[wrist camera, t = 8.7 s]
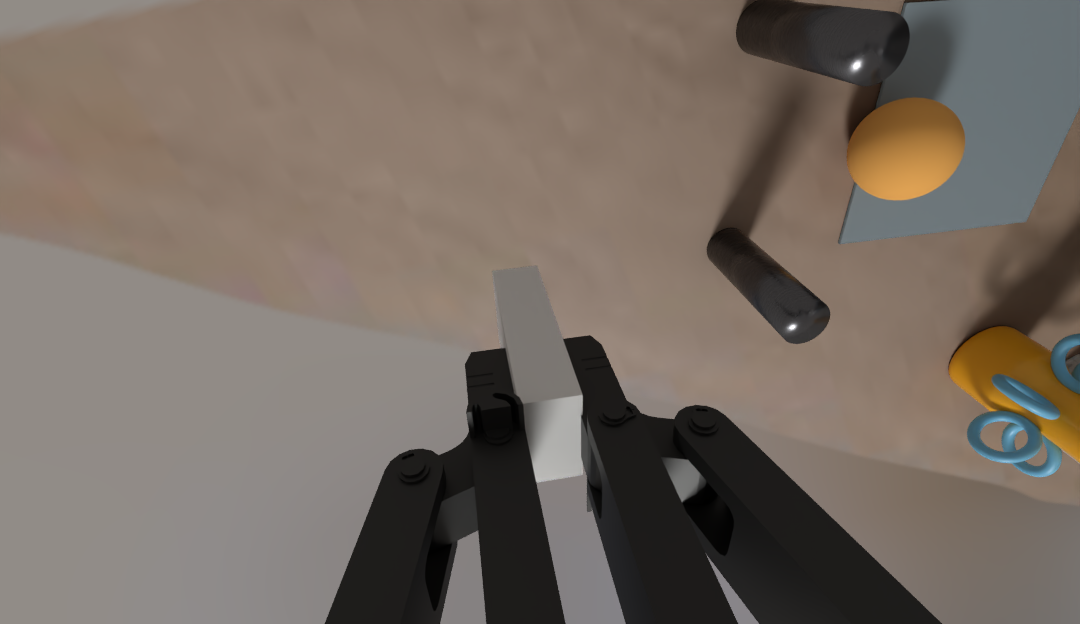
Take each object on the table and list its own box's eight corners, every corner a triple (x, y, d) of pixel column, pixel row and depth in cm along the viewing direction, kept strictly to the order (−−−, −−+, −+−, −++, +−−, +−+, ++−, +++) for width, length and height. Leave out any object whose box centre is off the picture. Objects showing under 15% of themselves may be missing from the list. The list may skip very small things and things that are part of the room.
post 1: (788, -3, 28) (919, 9, 21) (778, 53, 29) (897, 83, 22) (740, 0, 28) (855, 13, 20) (732, 56, 29) (837, 88, 22)
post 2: (748, 225, 35) (835, 297, 27) (741, 262, 36) (823, 340, 29) (709, 230, 35) (786, 304, 27) (704, 266, 36) (776, 346, 28)
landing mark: (1131, -13, 31) (1135, -12, 31) (1023, 220, 38) (1026, 221, 38) (904, 2, 29) (906, 3, 29) (838, 242, 37) (840, 244, 37)
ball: (875, 110, 28) (851, 87, 32) (846, 213, 31) (828, 179, 35) (1002, 111, 26) (958, 88, 31) (959, 218, 29) (925, 182, 34)
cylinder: (1050, 268, 41) (1320, 400, 29) (1059, 353, 47) (1288, 495, 34) (898, 354, 44) (1086, 512, 31) (922, 426, 49) (1091, 585, 36)
